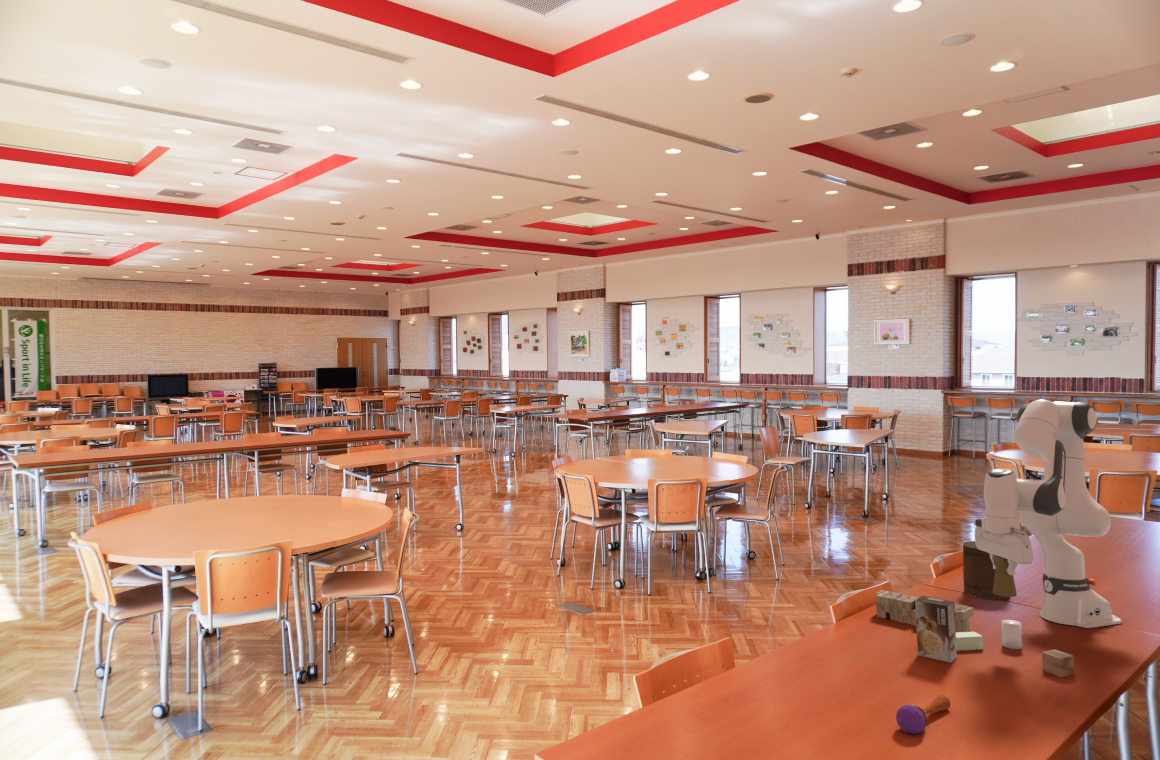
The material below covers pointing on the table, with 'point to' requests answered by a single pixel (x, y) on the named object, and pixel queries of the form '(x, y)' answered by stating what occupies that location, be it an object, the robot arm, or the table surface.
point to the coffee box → (936, 628)
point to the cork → (1003, 579)
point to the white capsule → (1011, 634)
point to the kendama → (919, 714)
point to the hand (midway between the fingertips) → (1004, 572)
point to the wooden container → (978, 572)
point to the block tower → (914, 609)
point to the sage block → (968, 641)
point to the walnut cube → (1058, 663)
